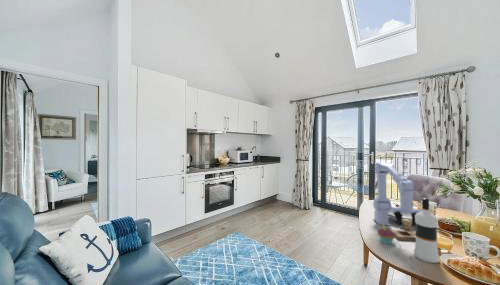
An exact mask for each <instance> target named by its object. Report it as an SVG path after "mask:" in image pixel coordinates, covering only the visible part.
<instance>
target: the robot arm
mask: <svg viewBox="0 0 500 285" xmlns="http://www.w3.org/2000/svg"><path fill="white" fill-rule="evenodd" d="M374 172H375V174H376V178H377V196H376V197H374V198H373V202H372V204H373V209H374V211H373V212H374V218H372V220H373V221H374V222H375V221H376V222H375V223H377V225H380V226H383V222H384V225H385V226H392V224H391V223H390V221H389V219H390V217H389V215H388V212H390V210H391V208H392V207H393V206H392V203H391V200H390V199H389V198H388V197H387V180H386V176H387V175H388V174H389V175H390V176H392V180H393V182H395V183H396V184H397V188H398V192H399V195H400V196H399V198H400V199H399V200H400V201H399V204H400V205H399V206H400V208H392V212H393V213H394V215H395V217H396V219H397V221H396V222H397V224H398V226H402V225H403V223H402V222H401V220H402V214H401V213H411V215H412V224H411V225H412V226H414V227H416V226H415V214H416V213H418V212H421V211H422V209H418V208H414V191H415V190H416V184H415V182H414V181H413V180H409V179H407V177H406V176H404V174H402V173H401V172H398V171H397V170H396V169H395V165H394V164H393V162H378V161H377V162H375V164H374Z"/></svg>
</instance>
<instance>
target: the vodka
mask: <svg viewBox="0 0 500 285" xmlns="http://www.w3.org/2000/svg"><path fill="white" fill-rule="evenodd" d="M421 207H422V208H421V210H422V211H421V212H418V213H416V214H415V226H414V227H415V231H416V235H415V237H416V241H415V248H414V252H413V253H414V254H413V255H414V256H415V257H416V258H417V259H419V260H420V261H423V262H424V263H430V264H437V263H439V262H440V256H439V251H438V243H439V241H438V218H437V217H436V216H435V214H433V213H431V212H430V199H429V198H426V197H422V198H421Z"/></svg>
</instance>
